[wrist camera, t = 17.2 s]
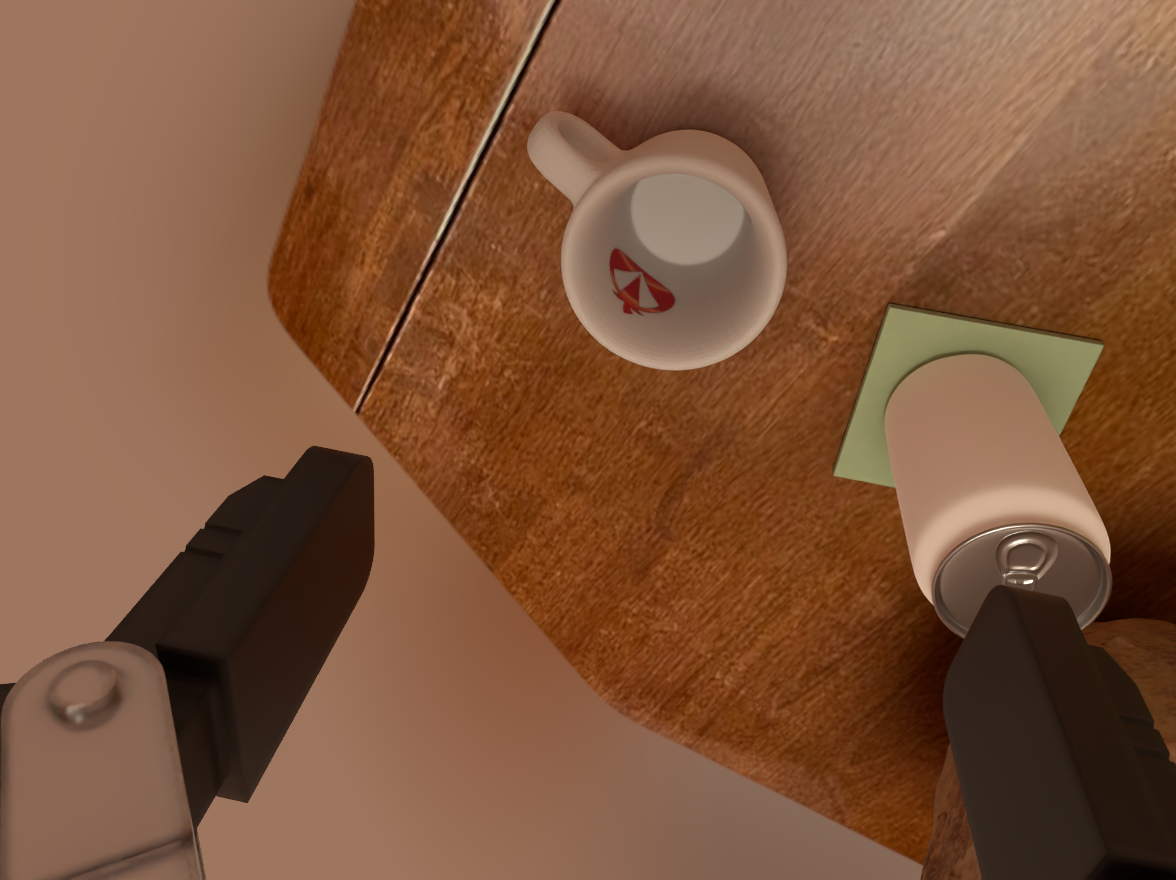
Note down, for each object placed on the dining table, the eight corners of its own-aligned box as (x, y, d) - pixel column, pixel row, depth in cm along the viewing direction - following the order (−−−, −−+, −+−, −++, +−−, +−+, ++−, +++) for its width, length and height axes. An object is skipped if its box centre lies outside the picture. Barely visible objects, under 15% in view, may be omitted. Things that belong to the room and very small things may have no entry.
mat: (832, 470, 43) (833, 475, 42) (888, 302, 38) (889, 307, 37) (1019, 506, 42) (1021, 513, 41) (1101, 340, 37) (1104, 345, 37)
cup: (509, 174, 38) (452, 235, 31) (620, 13, 34) (582, 43, 27) (699, 325, 40) (684, 411, 33) (825, 191, 36) (837, 259, 29)
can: (1048, 349, 37) (1150, 518, 27) (1021, 475, 40) (1102, 666, 30) (889, 348, 38) (930, 509, 28) (876, 470, 42) (908, 653, 32)
